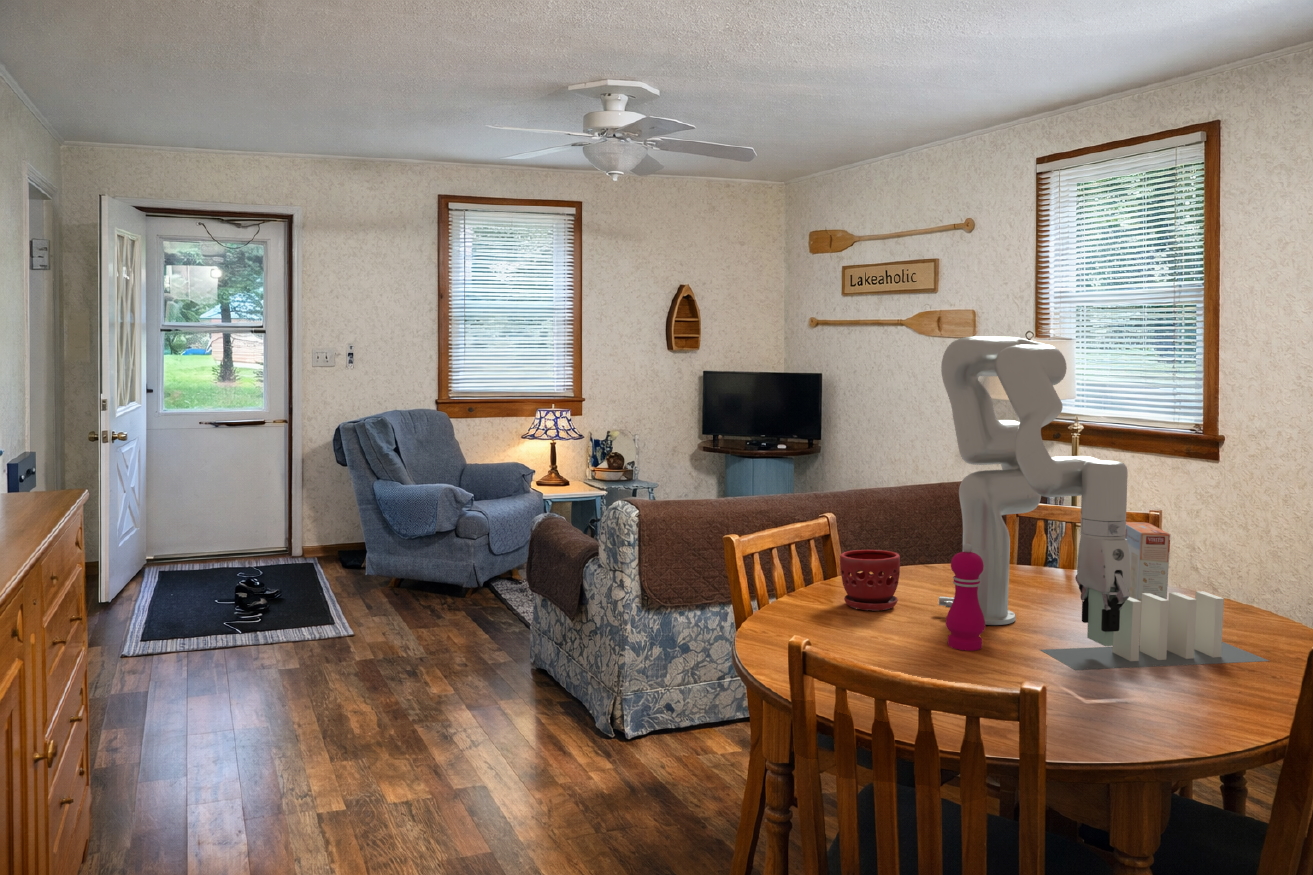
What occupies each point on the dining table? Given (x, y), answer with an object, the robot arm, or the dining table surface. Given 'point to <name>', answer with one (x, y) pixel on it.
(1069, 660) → the domino mat
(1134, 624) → the domino
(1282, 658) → the dining table surface
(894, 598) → the plant pot
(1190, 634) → the domino
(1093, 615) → the sage domino
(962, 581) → the pepper mill
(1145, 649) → the domino
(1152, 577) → the cracker box
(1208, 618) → the domino
